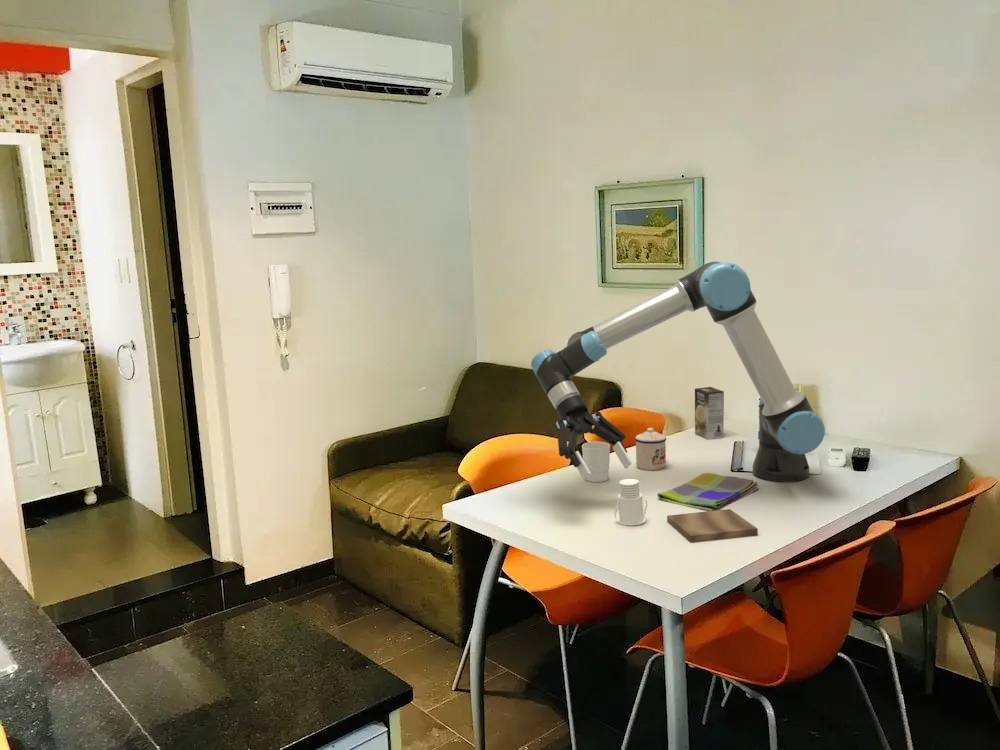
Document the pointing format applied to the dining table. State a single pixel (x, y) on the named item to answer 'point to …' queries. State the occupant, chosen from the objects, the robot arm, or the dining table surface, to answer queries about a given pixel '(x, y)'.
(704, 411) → the coffee box
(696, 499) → the dish towel
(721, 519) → the walnut board
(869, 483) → the dining table surface
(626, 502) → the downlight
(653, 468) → the teacup with lid
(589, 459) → the white cup
